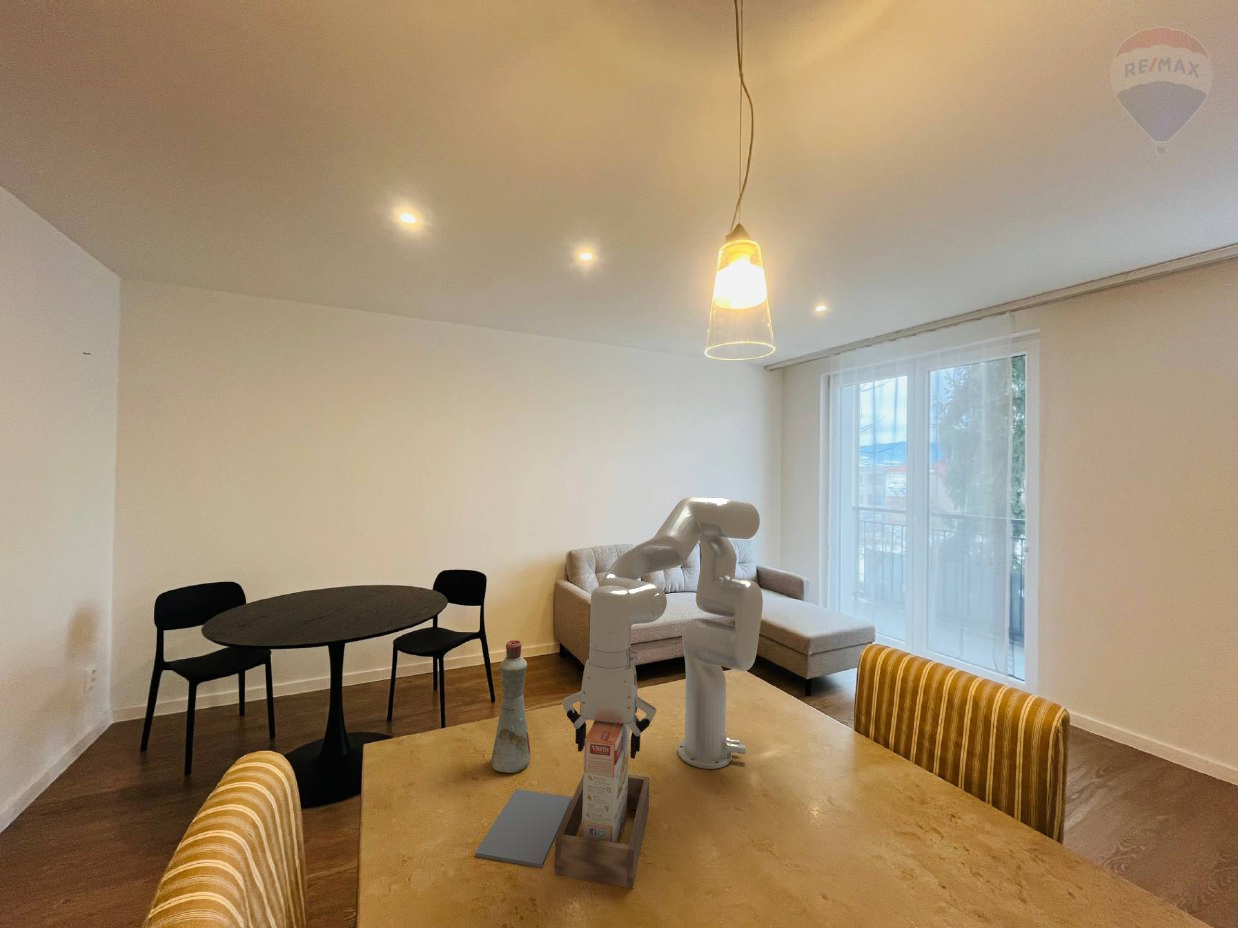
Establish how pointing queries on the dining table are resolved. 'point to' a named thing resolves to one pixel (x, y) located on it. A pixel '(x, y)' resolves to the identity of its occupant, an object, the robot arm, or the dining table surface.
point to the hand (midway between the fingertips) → (607, 750)
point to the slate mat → (525, 828)
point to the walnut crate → (602, 842)
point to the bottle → (512, 715)
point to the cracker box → (605, 781)
